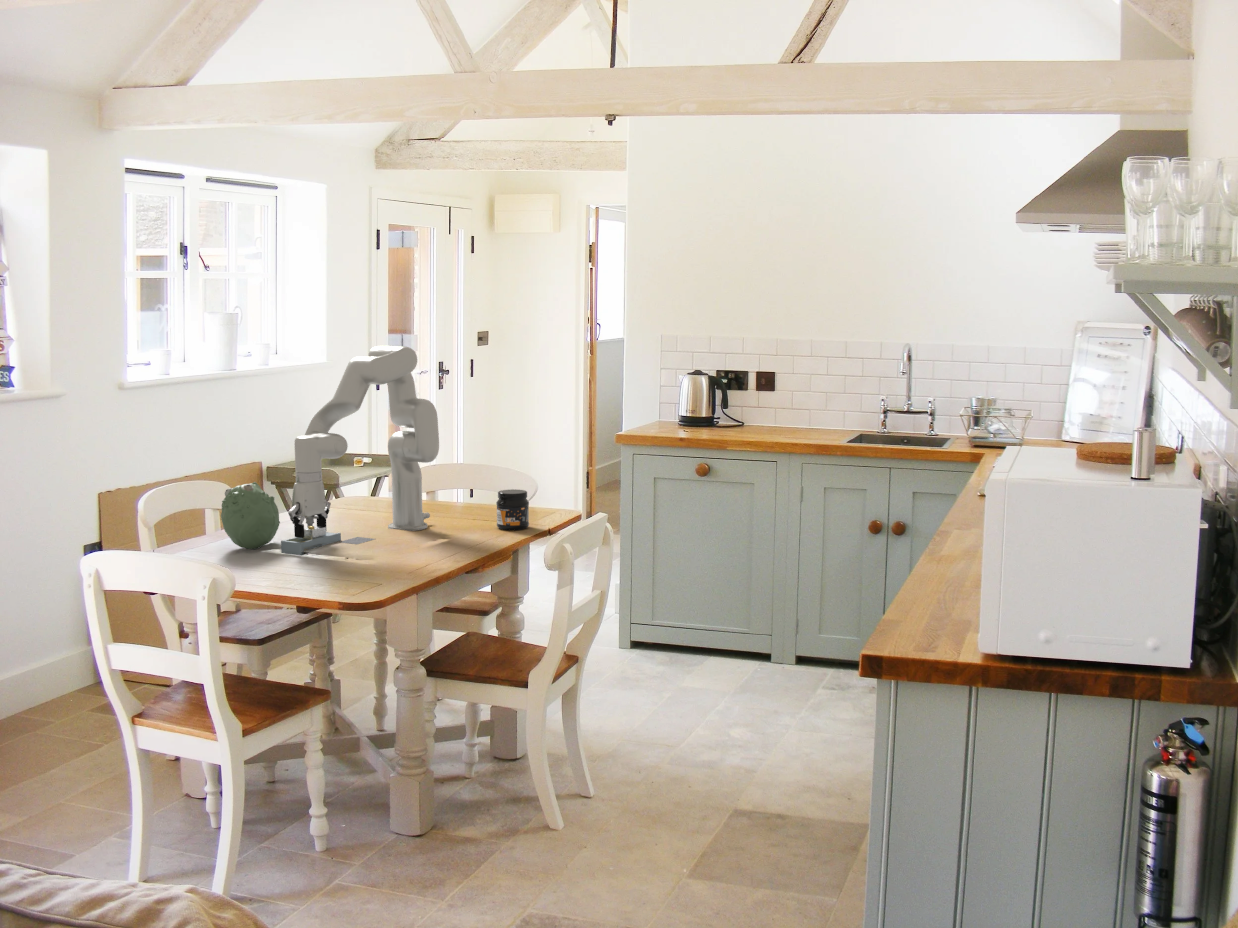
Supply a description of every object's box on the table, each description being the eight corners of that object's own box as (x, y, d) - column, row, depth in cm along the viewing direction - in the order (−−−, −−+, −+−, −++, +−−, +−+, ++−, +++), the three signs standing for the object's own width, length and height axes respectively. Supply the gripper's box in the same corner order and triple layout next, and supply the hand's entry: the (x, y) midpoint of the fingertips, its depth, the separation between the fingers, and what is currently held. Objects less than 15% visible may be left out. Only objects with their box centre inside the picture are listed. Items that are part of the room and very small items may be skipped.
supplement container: (492, 530, 385) (491, 493, 383) (502, 524, 395) (502, 488, 393) (523, 531, 382) (522, 494, 381) (533, 525, 392) (533, 489, 391)
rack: (322, 541, 365) (322, 530, 365) (342, 544, 362) (341, 532, 362) (281, 552, 350) (280, 540, 349) (301, 555, 346) (301, 543, 346)
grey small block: (315, 534, 360) (315, 523, 359) (326, 536, 358) (325, 524, 358) (302, 538, 355) (301, 527, 354) (312, 539, 353) (312, 528, 352)
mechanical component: (323, 538, 370) (322, 507, 369) (292, 537, 372) (291, 505, 371) (327, 537, 373) (326, 505, 372) (297, 535, 375) (296, 504, 374)
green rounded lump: (291, 543, 363) (289, 478, 360) (259, 556, 345) (256, 487, 342) (245, 541, 367) (242, 476, 364) (210, 553, 348) (207, 485, 346)
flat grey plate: (357, 540, 368) (357, 536, 367) (375, 542, 364) (375, 538, 364) (338, 545, 360) (338, 542, 359) (357, 548, 356) (356, 544, 356)
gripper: (318, 473, 362) (320, 528, 364) (278, 480, 347) (280, 538, 349) (338, 474, 359) (339, 530, 361) (298, 482, 343) (300, 540, 346)
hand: (310, 534), depth 355 cm, fingers open, 9 cm apart
